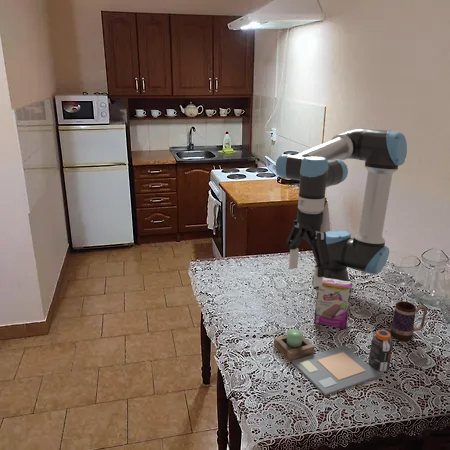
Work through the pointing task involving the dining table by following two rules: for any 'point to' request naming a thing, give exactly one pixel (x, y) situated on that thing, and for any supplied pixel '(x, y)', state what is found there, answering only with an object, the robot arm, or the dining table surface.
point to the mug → (405, 321)
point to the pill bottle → (380, 351)
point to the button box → (295, 353)
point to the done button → (294, 338)
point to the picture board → (335, 369)
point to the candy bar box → (333, 303)
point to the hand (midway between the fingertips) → (304, 276)
